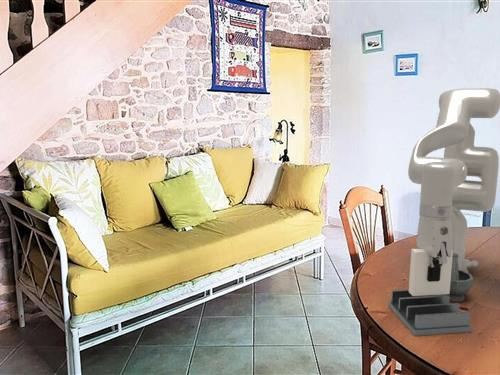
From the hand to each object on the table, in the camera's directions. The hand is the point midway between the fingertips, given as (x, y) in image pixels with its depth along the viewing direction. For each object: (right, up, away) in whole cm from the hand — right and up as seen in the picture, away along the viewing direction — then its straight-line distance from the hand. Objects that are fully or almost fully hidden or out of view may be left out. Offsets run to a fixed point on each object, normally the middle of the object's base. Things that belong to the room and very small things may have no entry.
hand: (430, 277), depth 116 cm
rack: (0, -11, +2) cm, 12 cm away
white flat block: (0, -4, +1) cm, 4 cm away
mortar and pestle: (+13, -9, +16) cm, 22 cm away
